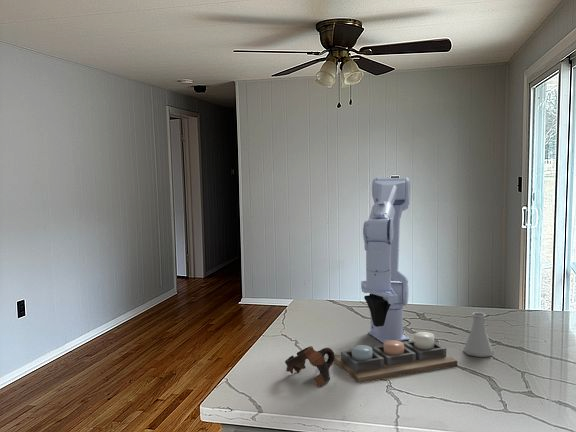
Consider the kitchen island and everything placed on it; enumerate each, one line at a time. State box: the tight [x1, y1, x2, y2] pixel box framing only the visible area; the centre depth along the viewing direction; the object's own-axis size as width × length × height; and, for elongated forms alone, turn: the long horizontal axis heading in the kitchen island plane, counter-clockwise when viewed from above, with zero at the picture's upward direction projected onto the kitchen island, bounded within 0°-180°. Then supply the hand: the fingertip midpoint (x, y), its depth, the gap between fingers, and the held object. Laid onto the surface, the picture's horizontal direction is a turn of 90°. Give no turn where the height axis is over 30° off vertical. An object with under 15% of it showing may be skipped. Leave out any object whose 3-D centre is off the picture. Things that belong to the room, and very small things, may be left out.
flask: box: [462, 312, 494, 358], centre depth 131 cm, size 7×7×10 cm
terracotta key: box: [383, 340, 404, 356], centre depth 126 cm, size 5×5×3 cm
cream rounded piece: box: [413, 331, 435, 351], centre depth 128 cm, size 5×5×3 cm
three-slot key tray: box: [333, 340, 458, 384], centre depth 126 cm, size 14×26×3 cm, turn 109°
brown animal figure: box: [284, 345, 335, 388], centre depth 119 cm, size 12×9×8 cm
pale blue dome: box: [351, 344, 372, 361], centre depth 123 cm, size 5×5×3 cm
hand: (378, 325), depth 124 cm, fingers closed
